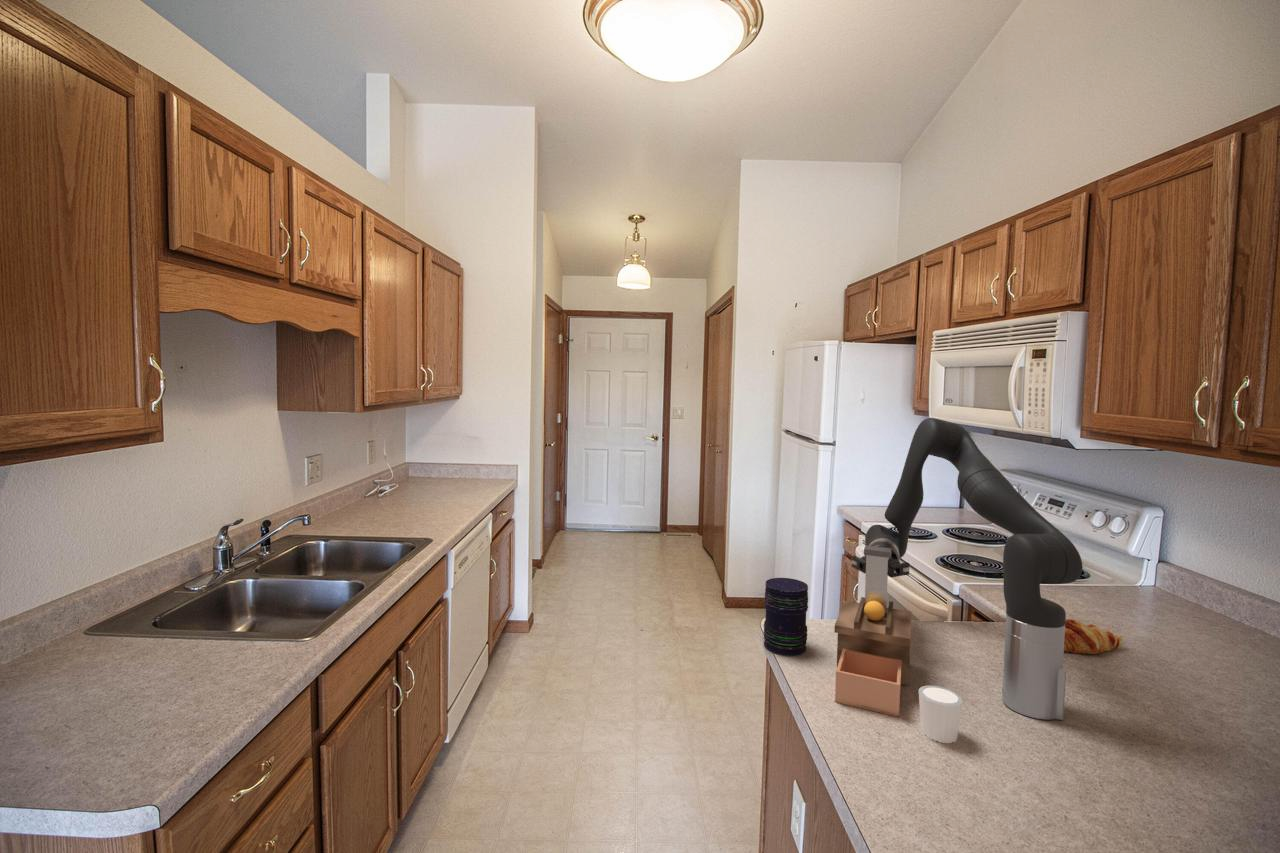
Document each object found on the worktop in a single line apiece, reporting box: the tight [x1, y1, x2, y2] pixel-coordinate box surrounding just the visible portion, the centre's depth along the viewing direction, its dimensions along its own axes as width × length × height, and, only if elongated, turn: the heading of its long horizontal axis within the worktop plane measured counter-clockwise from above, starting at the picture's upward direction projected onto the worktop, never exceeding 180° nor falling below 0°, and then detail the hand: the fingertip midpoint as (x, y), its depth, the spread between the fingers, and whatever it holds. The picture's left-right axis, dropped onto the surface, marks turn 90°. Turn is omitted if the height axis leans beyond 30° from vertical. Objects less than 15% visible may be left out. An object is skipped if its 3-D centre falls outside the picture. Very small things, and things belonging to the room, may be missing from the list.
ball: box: [864, 601, 885, 621], centre depth 119 cm, size 4×4×4 cm
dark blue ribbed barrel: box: [763, 577, 809, 657], centre depth 132 cm, size 10×10×15 cm
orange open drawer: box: [834, 649, 902, 718], centre depth 111 cm, size 11×11×6 cm
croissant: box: [1064, 618, 1125, 655], centre depth 135 cm, size 21×10×8 cm, turn 92°
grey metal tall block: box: [863, 544, 891, 616], centre depth 122 cm, size 5×4×14 cm
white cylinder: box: [918, 685, 964, 744], centre depth 99 cm, size 7×7×7 cm
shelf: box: [833, 596, 912, 686], centre depth 120 cm, size 14×16×14 cm
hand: (877, 575), depth 123 cm, fingers closed
